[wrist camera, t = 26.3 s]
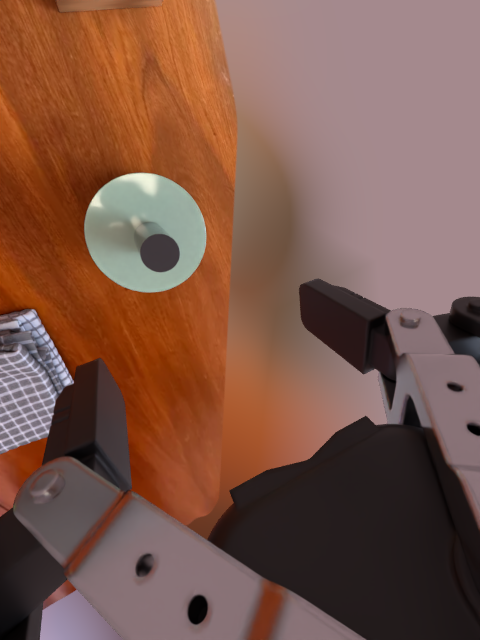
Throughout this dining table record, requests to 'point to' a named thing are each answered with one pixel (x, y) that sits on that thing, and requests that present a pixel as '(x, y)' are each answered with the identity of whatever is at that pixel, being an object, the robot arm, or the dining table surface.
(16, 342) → the towel
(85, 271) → the dining table surface
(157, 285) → the lid
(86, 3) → the stand
